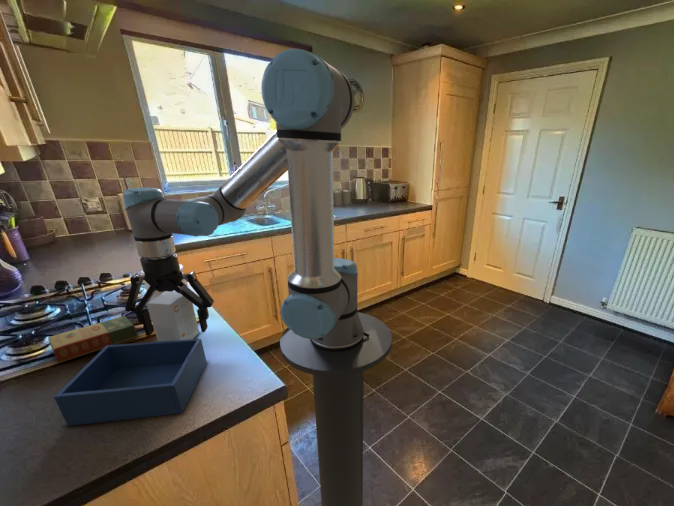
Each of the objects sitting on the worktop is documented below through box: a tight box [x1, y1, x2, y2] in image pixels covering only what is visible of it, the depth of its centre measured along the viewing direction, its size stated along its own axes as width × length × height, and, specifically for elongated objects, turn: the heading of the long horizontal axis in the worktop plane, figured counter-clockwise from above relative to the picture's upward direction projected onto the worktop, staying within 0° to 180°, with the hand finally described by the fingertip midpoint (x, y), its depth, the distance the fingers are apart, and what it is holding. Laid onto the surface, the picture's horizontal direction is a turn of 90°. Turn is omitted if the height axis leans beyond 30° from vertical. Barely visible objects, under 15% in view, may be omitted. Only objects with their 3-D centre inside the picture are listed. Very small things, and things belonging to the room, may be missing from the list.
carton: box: [47, 315, 139, 364], centre depth 85 cm, size 8×16×4 cm, turn 140°
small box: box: [146, 290, 200, 342], centre depth 86 cm, size 8×6×13 cm
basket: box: [53, 338, 207, 427], centre depth 69 cm, size 20×17×7 cm
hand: (177, 331), depth 87 cm, fingers open, 12 cm apart
